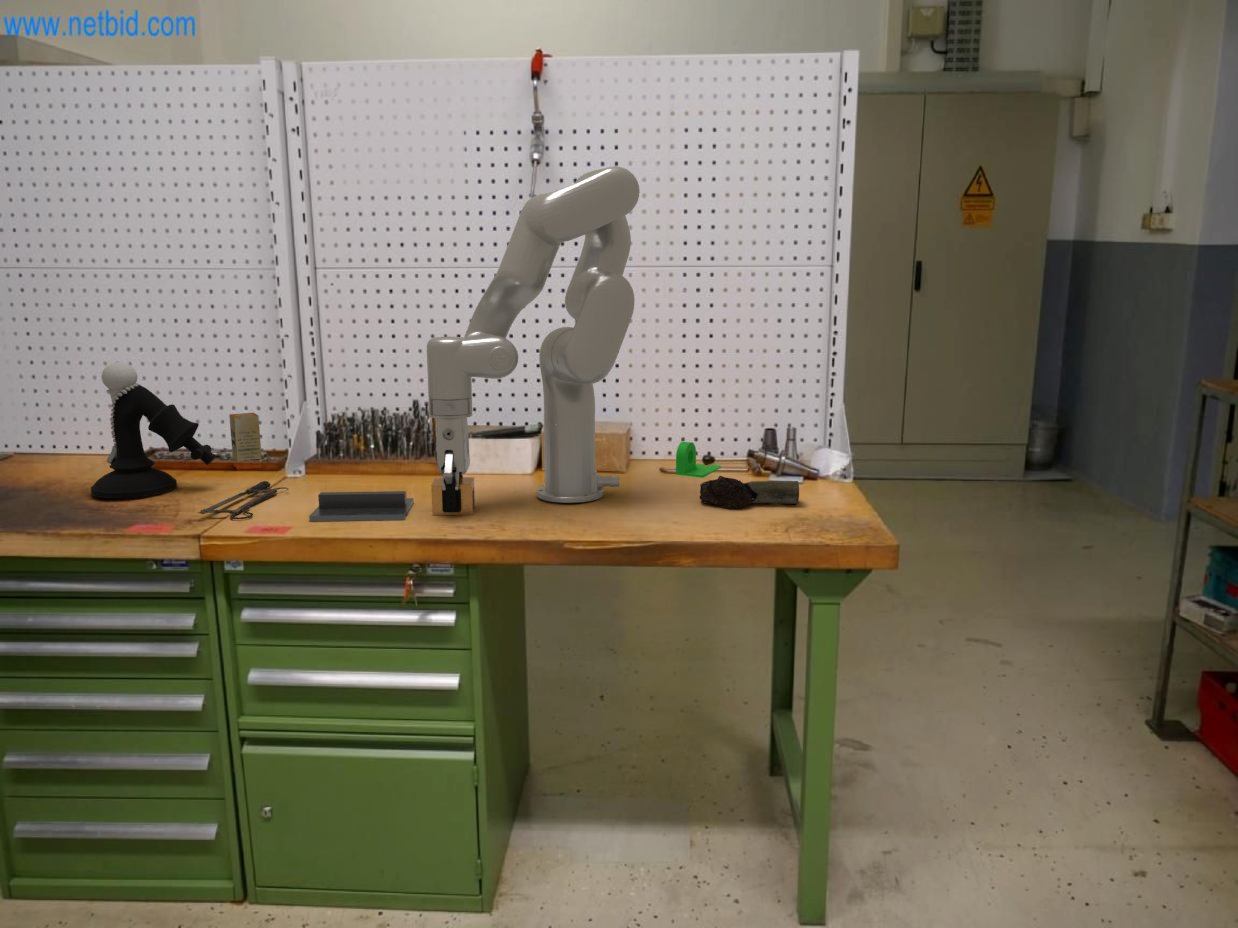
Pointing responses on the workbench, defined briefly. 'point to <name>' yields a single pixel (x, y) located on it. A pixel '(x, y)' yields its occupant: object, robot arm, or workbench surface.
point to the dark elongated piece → (748, 492)
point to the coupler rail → (361, 513)
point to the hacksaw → (254, 489)
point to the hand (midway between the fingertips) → (453, 506)
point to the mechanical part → (691, 462)
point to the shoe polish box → (245, 436)
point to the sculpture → (128, 453)
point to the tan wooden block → (466, 496)
